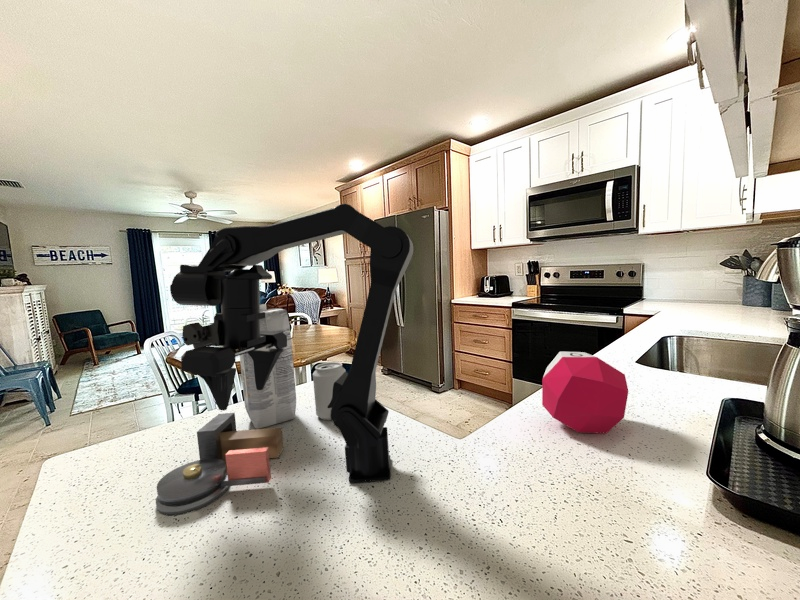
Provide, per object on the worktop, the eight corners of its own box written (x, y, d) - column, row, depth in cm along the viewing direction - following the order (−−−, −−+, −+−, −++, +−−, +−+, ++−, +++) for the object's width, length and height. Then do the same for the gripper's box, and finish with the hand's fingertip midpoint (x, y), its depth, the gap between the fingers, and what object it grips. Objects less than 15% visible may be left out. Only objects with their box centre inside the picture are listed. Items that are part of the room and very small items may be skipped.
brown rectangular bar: (283, 447, 63) (282, 427, 63) (277, 457, 59) (275, 435, 59) (211, 453, 62) (209, 433, 62) (201, 463, 59) (199, 442, 59)
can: (335, 406, 83) (331, 359, 82) (355, 412, 78) (351, 362, 77) (309, 417, 77) (305, 366, 76) (330, 424, 72) (325, 370, 71)
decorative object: (565, 365, 55) (548, 330, 69) (535, 434, 61) (525, 389, 75) (660, 392, 53) (623, 350, 67) (621, 461, 58) (594, 409, 72)
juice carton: (300, 419, 76) (290, 302, 74) (251, 433, 70) (239, 307, 68) (289, 407, 83) (280, 301, 82) (244, 420, 78) (233, 306, 76)
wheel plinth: (240, 472, 56) (239, 466, 56) (210, 512, 46) (209, 505, 46) (182, 477, 55) (181, 471, 55) (139, 518, 46) (138, 511, 46)
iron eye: (238, 447, 64) (234, 412, 64) (218, 469, 57) (214, 430, 57) (222, 448, 64) (218, 413, 64) (201, 471, 57) (196, 431, 56)
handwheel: (279, 464, 56) (276, 435, 55) (258, 499, 47) (255, 465, 46) (182, 472, 55) (179, 443, 55) (142, 510, 46) (138, 475, 46)
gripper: (236, 301, 65) (238, 378, 66) (146, 310, 47) (151, 417, 48) (288, 303, 63) (289, 383, 64) (214, 314, 45) (217, 425, 46)
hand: (242, 399), depth 56 cm, fingers open, 9 cm apart
